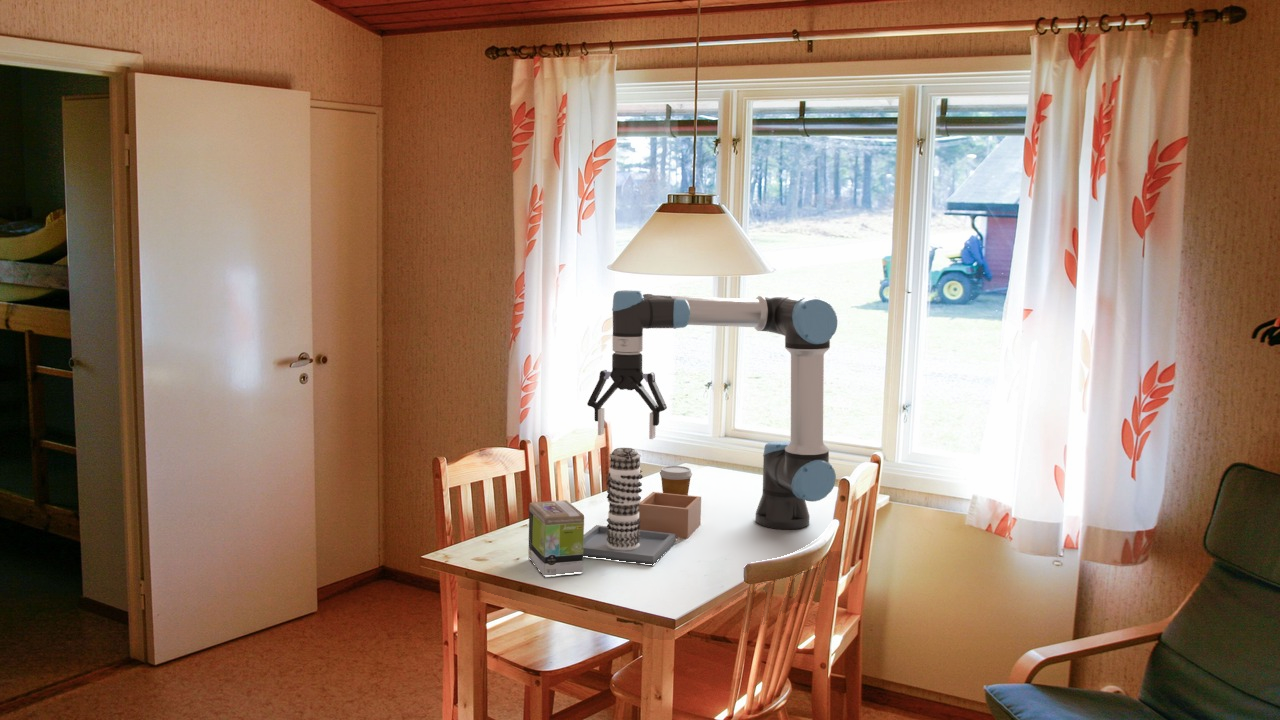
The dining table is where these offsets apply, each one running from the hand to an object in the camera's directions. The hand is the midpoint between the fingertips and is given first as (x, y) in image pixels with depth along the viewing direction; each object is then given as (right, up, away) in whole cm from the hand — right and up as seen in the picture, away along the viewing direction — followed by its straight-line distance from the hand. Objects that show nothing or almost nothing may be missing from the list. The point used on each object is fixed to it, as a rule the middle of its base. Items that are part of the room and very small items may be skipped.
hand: (626, 436), depth 262 cm
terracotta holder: (+11, -27, +23) cm, 37 cm away
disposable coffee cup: (+14, -25, +43) cm, 51 cm away
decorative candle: (-1, -28, +4) cm, 29 cm away
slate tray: (-1, -29, +4) cm, 29 cm away
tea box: (-17, -31, -11) cm, 37 cm away
